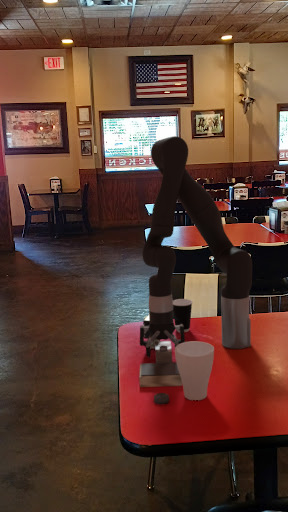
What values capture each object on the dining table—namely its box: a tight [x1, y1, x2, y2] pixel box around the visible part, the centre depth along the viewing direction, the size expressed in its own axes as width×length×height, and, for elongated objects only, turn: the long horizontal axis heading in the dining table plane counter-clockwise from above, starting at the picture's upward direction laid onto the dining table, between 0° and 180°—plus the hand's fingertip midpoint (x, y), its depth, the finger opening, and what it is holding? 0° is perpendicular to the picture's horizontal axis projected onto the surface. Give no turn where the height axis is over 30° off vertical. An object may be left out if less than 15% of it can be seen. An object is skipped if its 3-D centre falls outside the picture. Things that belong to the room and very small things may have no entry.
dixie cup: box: [173, 298, 193, 333], centre depth 181 cm, size 8×8×11 cm
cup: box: [174, 340, 215, 401], centre depth 130 cm, size 10×10×14 cm
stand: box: [138, 361, 183, 388], centre depth 142 cm, size 12×9×3 cm
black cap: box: [153, 392, 170, 406], centre depth 129 cm, size 4×4×2 cm
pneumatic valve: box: [142, 314, 161, 350], centre depth 165 cm, size 6×12×12 cm, turn 163°
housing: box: [155, 340, 173, 363], centre depth 154 cm, size 9×5×6 cm, turn 0°
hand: (162, 356), depth 154 cm, fingers open, 8 cm apart
